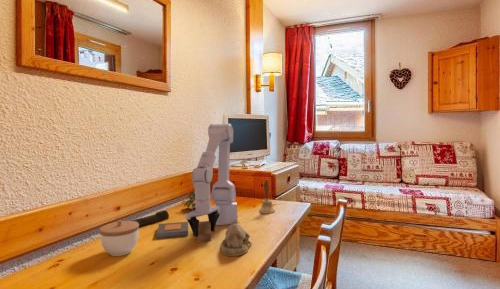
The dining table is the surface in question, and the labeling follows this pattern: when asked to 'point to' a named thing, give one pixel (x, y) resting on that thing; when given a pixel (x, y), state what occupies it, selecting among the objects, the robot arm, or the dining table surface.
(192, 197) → the green leafy plant
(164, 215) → the hand tool
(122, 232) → the lidded bowl
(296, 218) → the dining table surface
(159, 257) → the dining table surface
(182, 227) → the grey square picture frame
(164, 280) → the dining table surface
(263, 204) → the hand bell
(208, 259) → the dining table surface
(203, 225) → the taupe wooden cube
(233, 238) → the ceramic model
